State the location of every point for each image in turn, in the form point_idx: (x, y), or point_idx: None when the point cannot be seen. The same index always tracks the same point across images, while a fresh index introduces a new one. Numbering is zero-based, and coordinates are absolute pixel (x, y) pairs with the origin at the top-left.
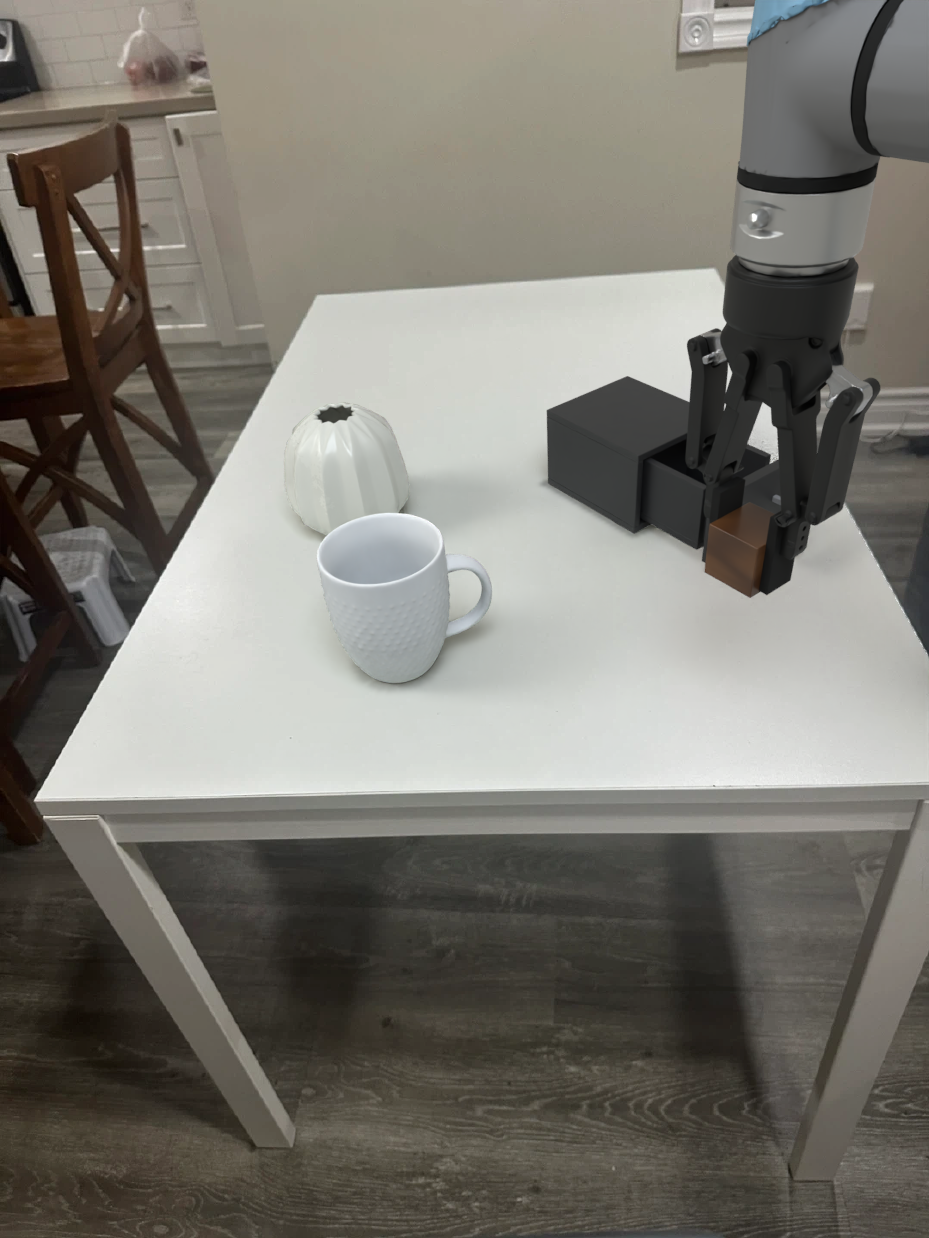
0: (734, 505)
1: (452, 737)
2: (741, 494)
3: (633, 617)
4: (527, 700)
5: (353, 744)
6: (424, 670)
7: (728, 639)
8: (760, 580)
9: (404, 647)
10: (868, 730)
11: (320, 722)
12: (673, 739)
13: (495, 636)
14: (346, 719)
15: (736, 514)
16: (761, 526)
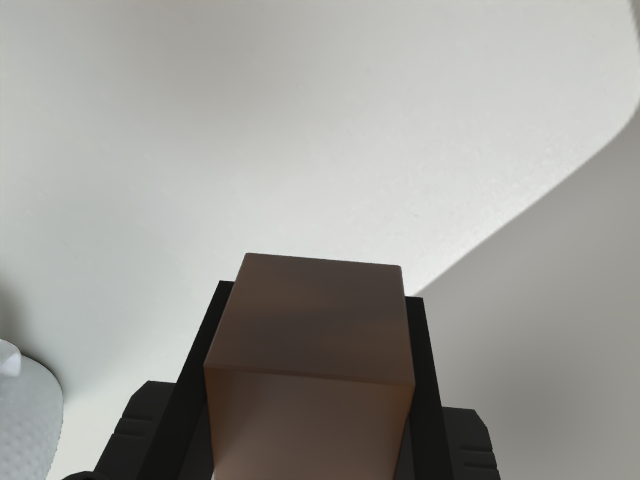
0: (204, 441)
1: None
2: (191, 446)
3: (97, 121)
4: (167, 336)
5: None
6: (60, 396)
7: (245, 46)
8: None
9: (46, 475)
10: (552, 71)
11: (75, 464)
12: None
13: (31, 290)
14: (84, 450)
15: (230, 432)
16: (328, 440)
